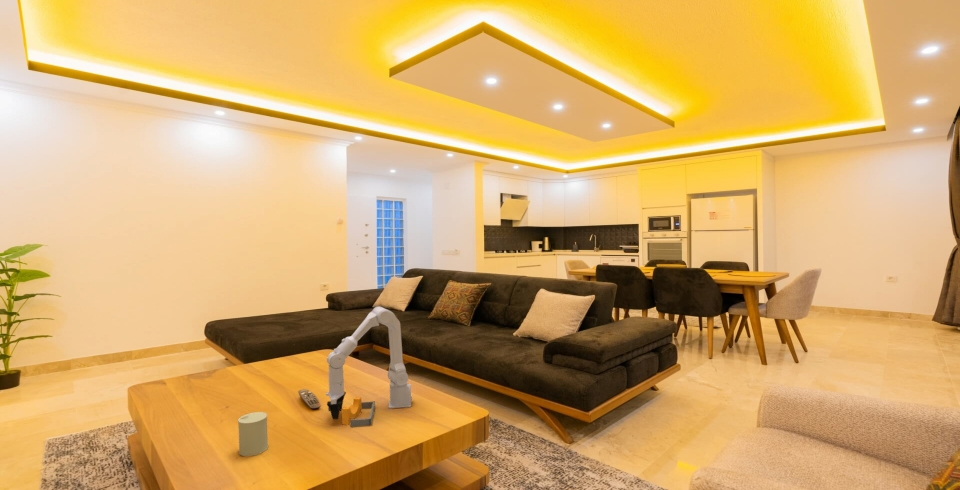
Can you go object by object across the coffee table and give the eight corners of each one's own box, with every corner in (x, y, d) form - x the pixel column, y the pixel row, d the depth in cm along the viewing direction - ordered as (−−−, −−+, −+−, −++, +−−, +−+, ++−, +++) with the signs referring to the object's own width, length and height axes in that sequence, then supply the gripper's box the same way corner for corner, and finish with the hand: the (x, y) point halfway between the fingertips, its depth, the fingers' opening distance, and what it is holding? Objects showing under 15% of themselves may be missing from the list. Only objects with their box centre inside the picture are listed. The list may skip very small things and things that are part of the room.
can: (246, 443, 157) (245, 411, 157) (272, 442, 158) (271, 409, 158) (233, 457, 148) (232, 422, 148) (262, 455, 149) (260, 421, 148)
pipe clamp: (352, 412, 184) (351, 397, 184) (361, 412, 183) (361, 397, 183) (338, 424, 172) (337, 408, 172) (348, 425, 172) (348, 409, 171)
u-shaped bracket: (375, 407, 188) (374, 401, 188) (371, 425, 171) (371, 418, 171) (356, 408, 187) (356, 402, 187) (350, 427, 170) (350, 420, 170)
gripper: (329, 376, 184) (330, 408, 184) (322, 388, 169) (323, 423, 170) (346, 375, 185) (347, 406, 185) (341, 387, 170) (342, 421, 171)
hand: (337, 414), depth 177 cm, fingers open, 7 cm apart
